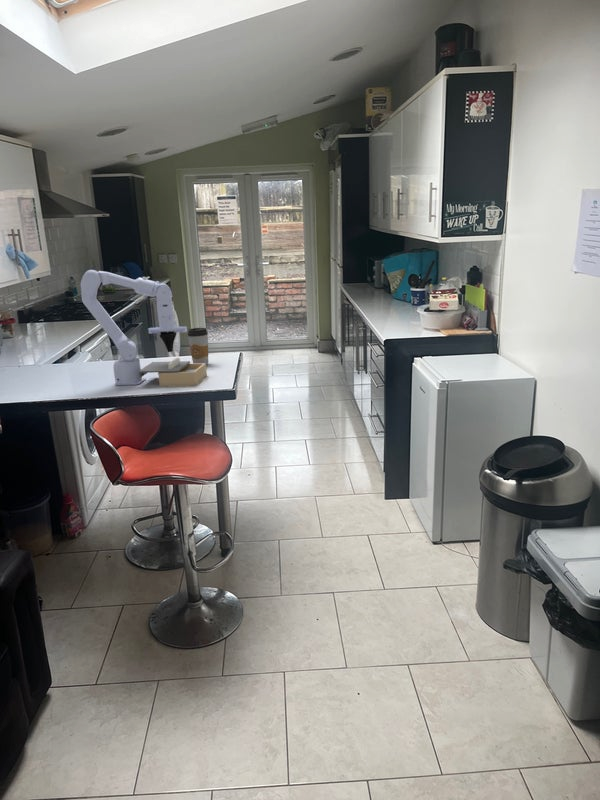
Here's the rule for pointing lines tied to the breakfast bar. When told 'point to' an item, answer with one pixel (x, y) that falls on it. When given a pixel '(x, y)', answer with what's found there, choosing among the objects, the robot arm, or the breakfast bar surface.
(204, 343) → the coffee cup
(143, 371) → the grey square slab
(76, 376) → the breakfast bar surface
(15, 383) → the breakfast bar surface
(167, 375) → the storage box
